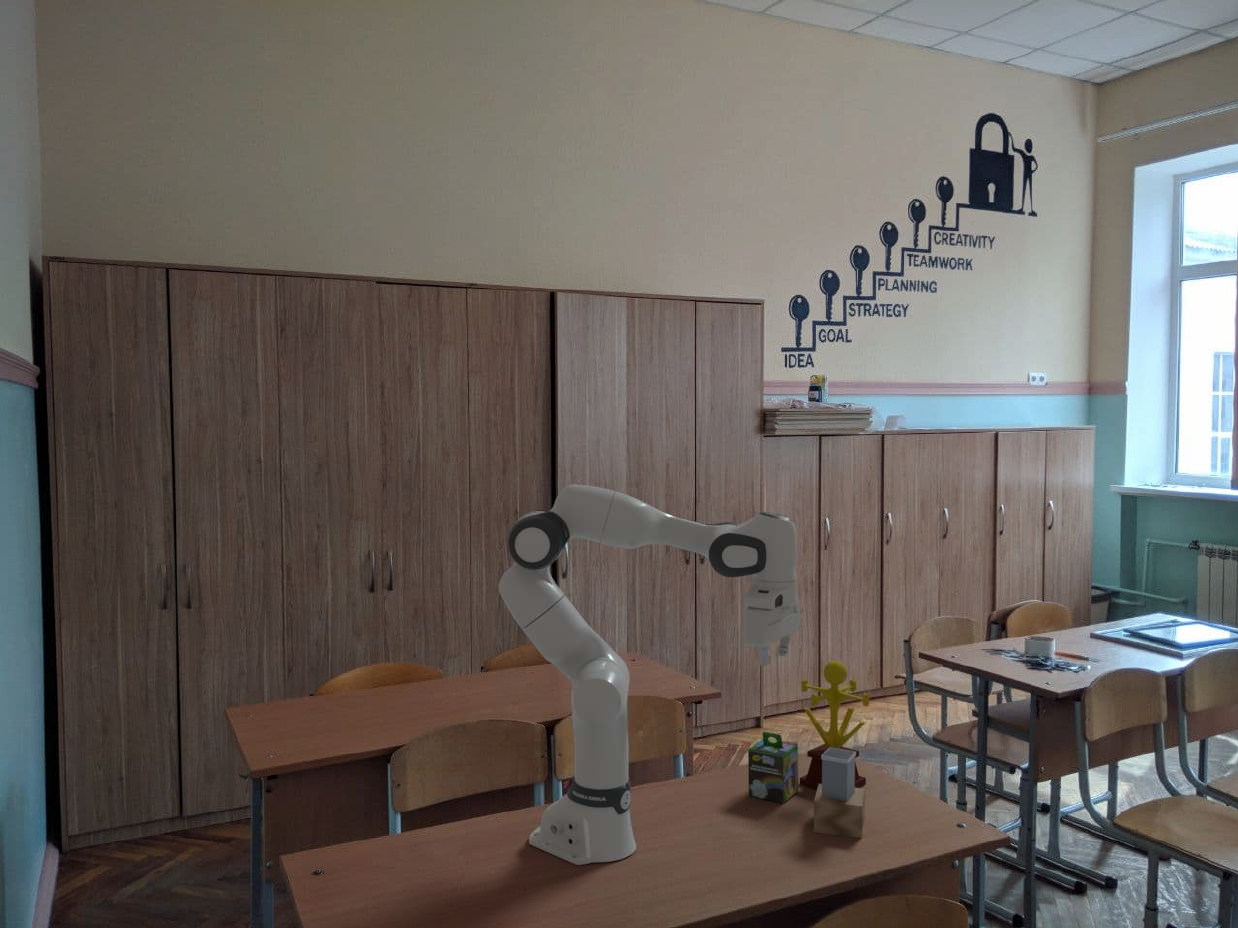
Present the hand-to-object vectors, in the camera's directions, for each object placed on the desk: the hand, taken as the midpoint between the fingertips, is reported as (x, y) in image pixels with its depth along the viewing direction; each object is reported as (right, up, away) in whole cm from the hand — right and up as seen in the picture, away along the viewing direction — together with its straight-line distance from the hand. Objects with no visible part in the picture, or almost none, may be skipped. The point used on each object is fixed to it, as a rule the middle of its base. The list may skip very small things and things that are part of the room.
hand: (774, 660), depth 199 cm
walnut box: (+16, -39, +13) cm, 44 cm away
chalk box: (+5, -38, +31) cm, 49 cm away
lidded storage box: (+16, -32, +13) cm, 38 cm away
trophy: (+20, -37, +37) cm, 56 cm away
